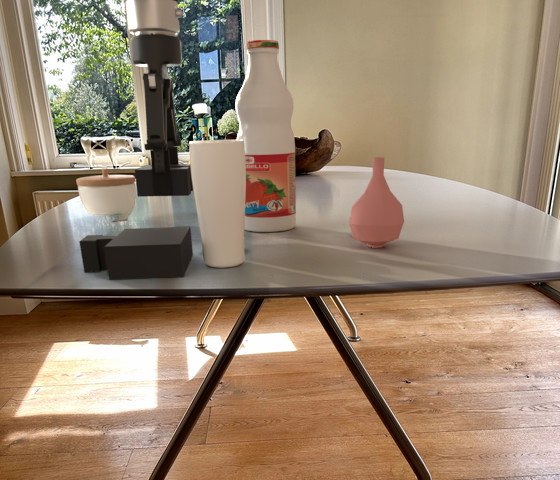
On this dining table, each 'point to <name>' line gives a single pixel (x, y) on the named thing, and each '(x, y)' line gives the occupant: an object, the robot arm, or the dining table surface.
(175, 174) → the dark grey block
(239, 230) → the drinking glass
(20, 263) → the dining table surface
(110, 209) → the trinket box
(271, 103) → the fruit juice
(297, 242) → the dining table surface
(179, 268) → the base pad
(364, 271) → the dining table surface
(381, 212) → the pink teardrop shaped piece
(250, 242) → the dining table surface
